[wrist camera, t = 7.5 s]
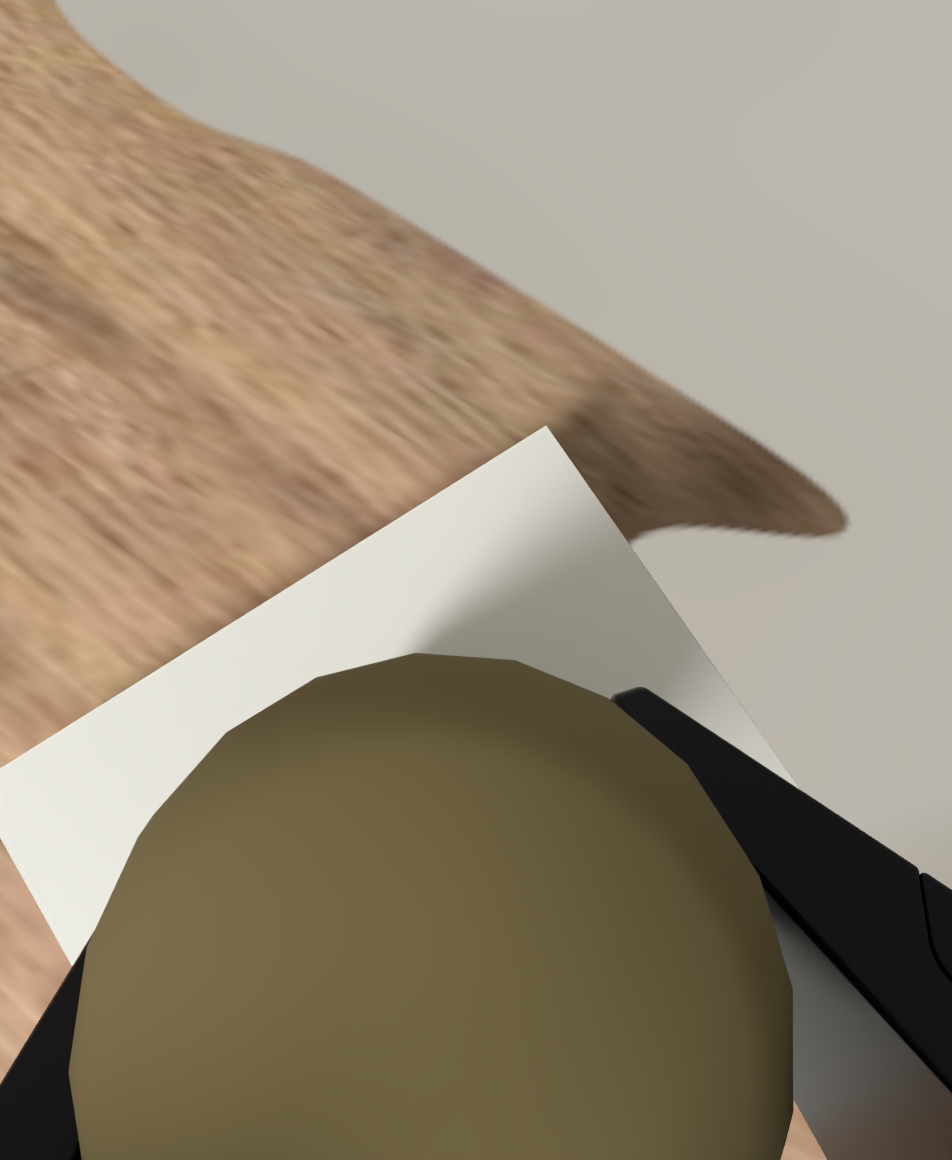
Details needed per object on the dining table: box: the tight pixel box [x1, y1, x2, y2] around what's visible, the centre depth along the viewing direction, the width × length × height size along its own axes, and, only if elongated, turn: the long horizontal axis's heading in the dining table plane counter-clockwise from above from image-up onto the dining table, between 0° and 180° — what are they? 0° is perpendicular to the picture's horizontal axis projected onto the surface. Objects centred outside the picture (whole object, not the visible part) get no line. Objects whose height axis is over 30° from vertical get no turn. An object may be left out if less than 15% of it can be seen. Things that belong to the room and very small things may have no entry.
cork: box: [68, 653, 793, 1160], centre depth 9 cm, size 6×6×11 cm
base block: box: [0, 426, 800, 966], centre depth 18 cm, size 16×16×3 cm
